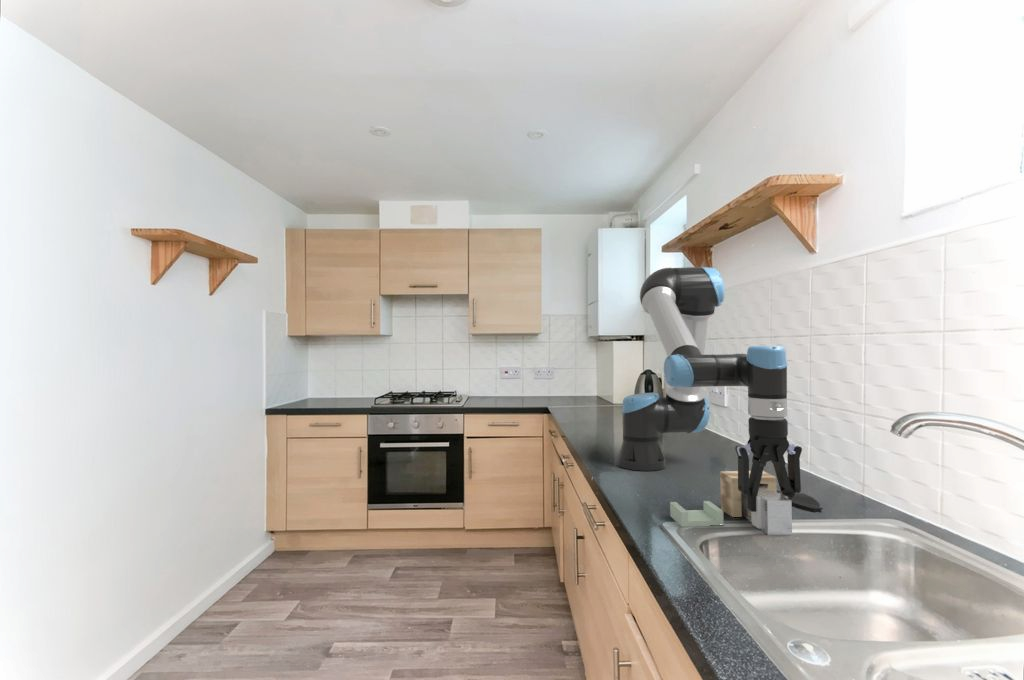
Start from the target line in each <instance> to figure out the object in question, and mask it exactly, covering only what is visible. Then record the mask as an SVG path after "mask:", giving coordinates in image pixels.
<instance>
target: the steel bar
mask: <svg viewBox="0 0 1024 680" xmlns="http://www.w3.org/2000/svg"><path fill="white" fill-rule="evenodd" d="M757 496H759V497H761V525H762V528H760V529H759V530H761V531H762V532H763V533H765V534H766V535H768V536H776V535H779V536H781V535H782V536H785V535H786V536H787V535H788V536H789V535H793V518H792V517H793V515H792V514H793V512H792V511H793V510H792V507H793V506H792V501H791V500H790V499H788V498H786V497H784V496H782V495H781V494H779V493H777V492H775V491H773V490H772V489H770V488H768V487H766V486H764V485H763V484H760V486H759V490H758V494H757ZM741 505H742V515H743V516H744V517H746V518H747V519H749V520H751V511H750V510H749V509H748V502H747V494H744V493H742V492H741ZM743 516H742V517H743ZM744 517H743V518H744ZM746 518H745V519H746ZM747 519H746V520H747ZM749 520H748V521H749ZM751 521H752V520H751Z"/></svg>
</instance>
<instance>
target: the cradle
mask: <svg viewBox="0 0 1024 680" xmlns="http://www.w3.org/2000/svg"><path fill="white" fill-rule="evenodd" d="M702 504H703V506H702V507H703V509H690V510H688V509H687V510H686V509H685V508H684V507H683V506H681V505H680V504H679V503H678V502H677V501H670V502H669V512H670V515H669V516H670V517H671V518H672V519H673V520H674V521H675V522H676V523H677V524H678V525H679V526H680V527H681V528H690V527H691V528H692V527H693V528H694V527H695V528H696V527H711V526H710V525H720V524H724V511H723V510H721V507H718V506H717V505H715V504H714V503H713V502H711V501H710V500H703V503H702Z"/></svg>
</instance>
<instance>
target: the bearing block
mask: <svg viewBox="0 0 1024 680" xmlns="http://www.w3.org/2000/svg"><path fill="white" fill-rule="evenodd" d="M750 472H751V470H749V476H750ZM719 474H720V476H719V477H720V478H719V479H720V482H719V483H720V484H719V485H720V509H721V510H723V513H725V514H727V515H728V516H729V515H730V516H729V517H731V516H732V517H742V518H743V516H742V505H741V491H739V490H738V470H734V471H733V470H728V471H725V470H724V471H720V472H719ZM760 484H763V485H764V486H766V487H768V488H770V489H772V490H773V491H775V492H777V491H778V489H777V485H778V484H777V476H776V475H775V476H774V475H773V474H770V473H768V472H767V471H764V470H763V473H762V477H761V482H760ZM732 517H731V518H732Z"/></svg>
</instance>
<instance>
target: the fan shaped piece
mask: <svg viewBox="0 0 1024 680" xmlns="http://www.w3.org/2000/svg"><path fill="white" fill-rule="evenodd" d="M777 493H781V494H782V492H781V490H777ZM794 494H795V496H794V497H791V501H792V507H794V508H796V509H800V510H804V511H807V512H811V513H816V512H819V513H822V510H823V507H821V506H820V505H821V504H820V503H819V502H818V500H816V499H815V498H814V497H812V496H810V495H808V494H806V493H801V492H800V493H794Z"/></svg>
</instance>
